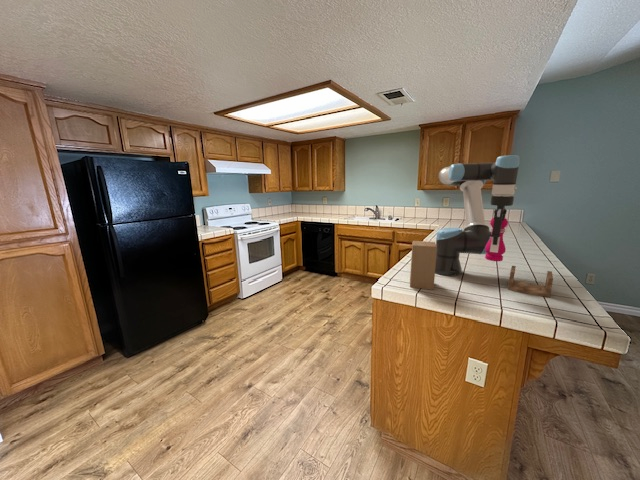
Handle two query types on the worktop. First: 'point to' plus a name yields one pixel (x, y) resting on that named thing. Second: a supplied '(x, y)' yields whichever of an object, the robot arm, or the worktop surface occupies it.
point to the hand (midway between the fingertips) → (494, 249)
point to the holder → (531, 285)
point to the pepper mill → (501, 250)
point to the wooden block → (423, 264)
